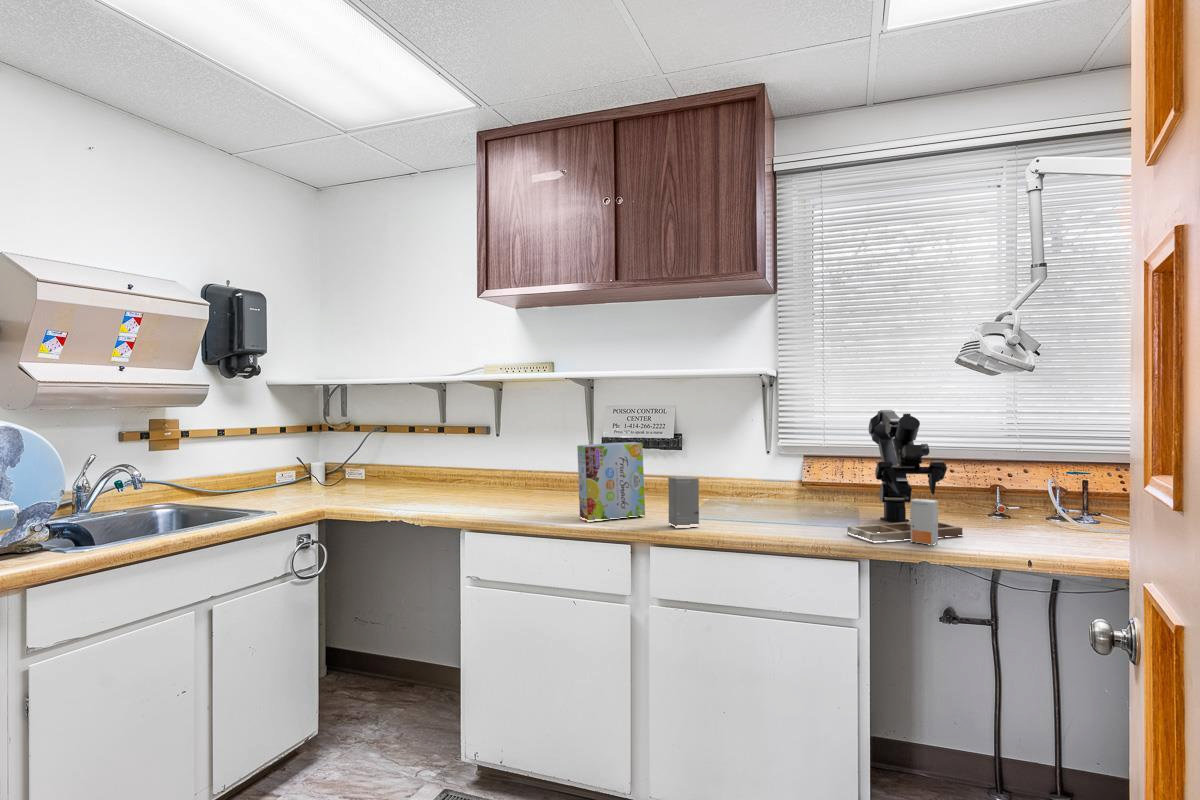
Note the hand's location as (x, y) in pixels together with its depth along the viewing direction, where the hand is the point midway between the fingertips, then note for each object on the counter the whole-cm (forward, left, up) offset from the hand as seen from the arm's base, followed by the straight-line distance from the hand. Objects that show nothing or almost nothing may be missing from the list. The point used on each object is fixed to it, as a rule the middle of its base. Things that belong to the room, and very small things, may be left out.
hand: (916, 493), depth 190 cm
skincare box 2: (+6, -3, -13) cm, 15 cm away
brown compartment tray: (-3, -1, -13) cm, 13 cm away
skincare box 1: (-36, -57, -13) cm, 69 cm away
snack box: (-57, -75, -13) cm, 95 cm away
